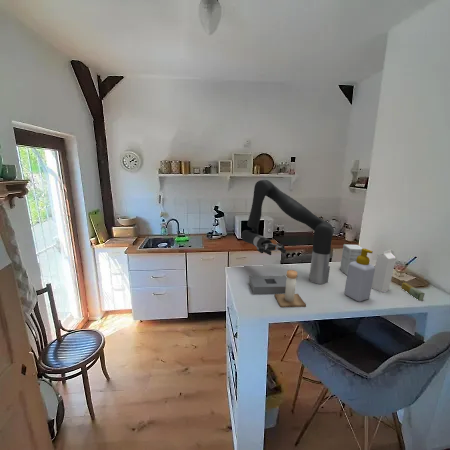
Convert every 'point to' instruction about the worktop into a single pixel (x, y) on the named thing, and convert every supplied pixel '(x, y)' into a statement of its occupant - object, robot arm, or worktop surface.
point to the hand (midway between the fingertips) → (278, 252)
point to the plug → (290, 285)
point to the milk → (383, 271)
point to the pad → (283, 303)
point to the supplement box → (349, 256)
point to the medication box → (413, 291)
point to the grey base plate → (268, 284)
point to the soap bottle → (360, 277)
